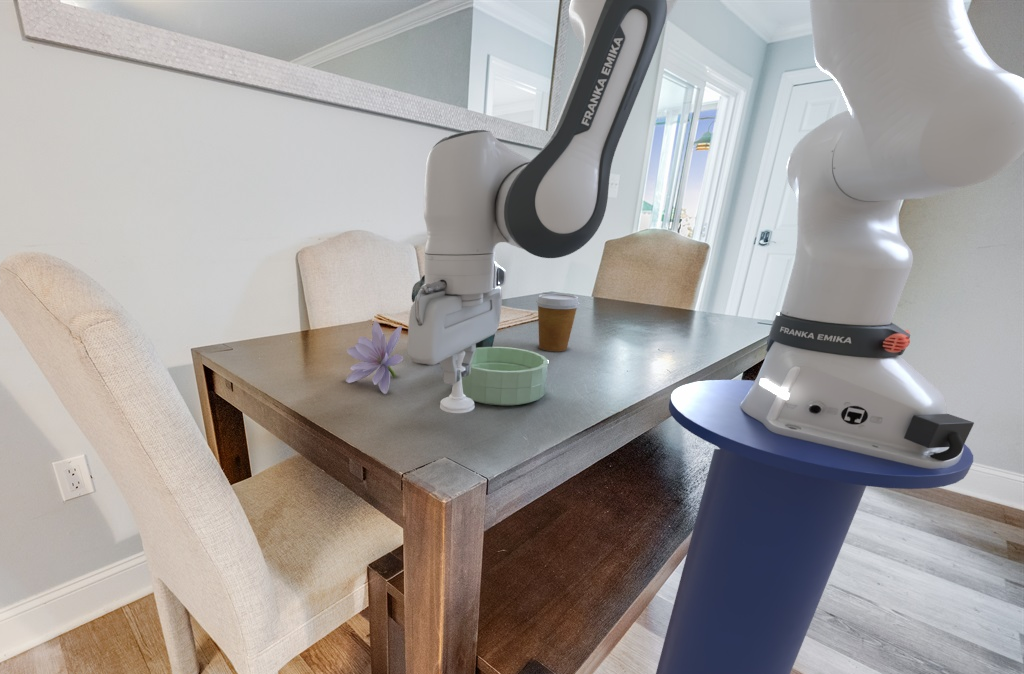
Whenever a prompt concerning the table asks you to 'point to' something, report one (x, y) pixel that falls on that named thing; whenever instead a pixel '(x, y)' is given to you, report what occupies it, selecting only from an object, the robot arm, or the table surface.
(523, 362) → the mint green pet bowl
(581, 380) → the table surface
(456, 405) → the chess piece
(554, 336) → the disposable coffee cup
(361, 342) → the water lily
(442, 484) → the table surface
